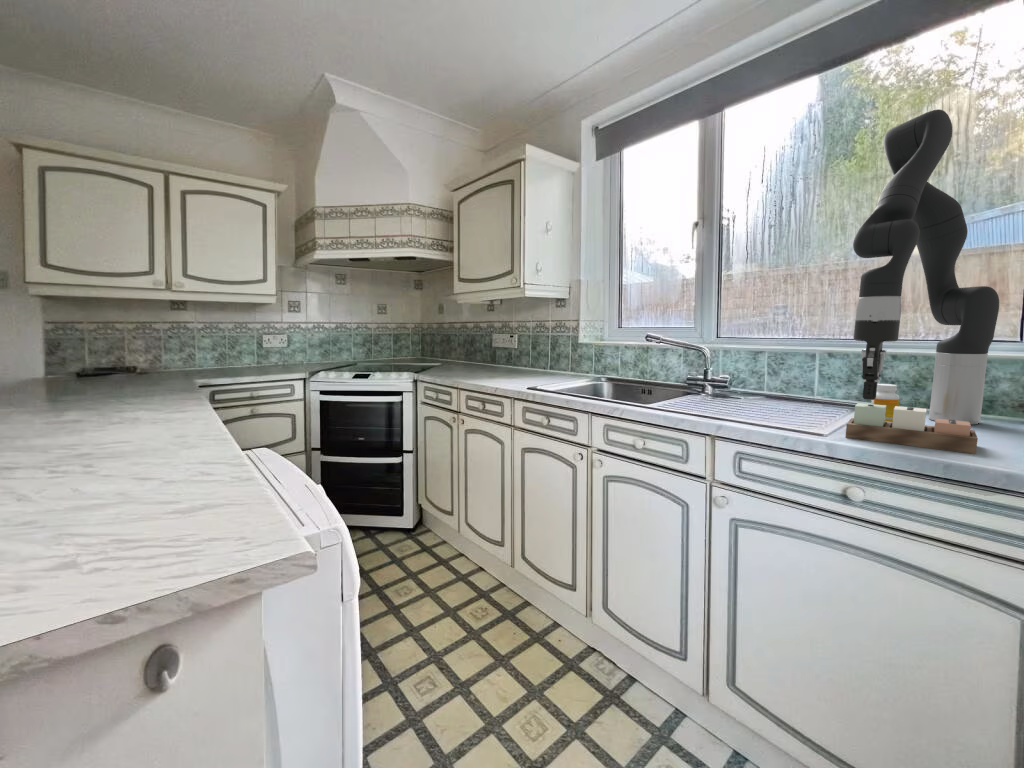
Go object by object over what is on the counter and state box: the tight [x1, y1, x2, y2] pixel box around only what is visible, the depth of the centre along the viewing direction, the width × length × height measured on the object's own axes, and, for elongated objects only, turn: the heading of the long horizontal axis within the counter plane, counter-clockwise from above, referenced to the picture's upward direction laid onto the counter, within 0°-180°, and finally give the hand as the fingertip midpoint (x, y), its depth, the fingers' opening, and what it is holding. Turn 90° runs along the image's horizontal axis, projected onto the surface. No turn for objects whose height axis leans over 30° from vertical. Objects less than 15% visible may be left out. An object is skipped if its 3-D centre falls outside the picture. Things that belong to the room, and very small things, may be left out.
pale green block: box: [853, 402, 886, 427], centre depth 100 cm, size 5×5×4 cm
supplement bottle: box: [870, 383, 900, 422], centre depth 113 cm, size 5×5×10 cm
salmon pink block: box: [933, 419, 972, 436], centre depth 91 cm, size 5×5×4 cm
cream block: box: [892, 406, 927, 431], centre depth 95 cm, size 5×5×4 cm
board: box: [845, 417, 979, 455], centre depth 96 cm, size 20×9×3 cm, turn 48°
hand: (869, 398), depth 99 cm, fingers closed
